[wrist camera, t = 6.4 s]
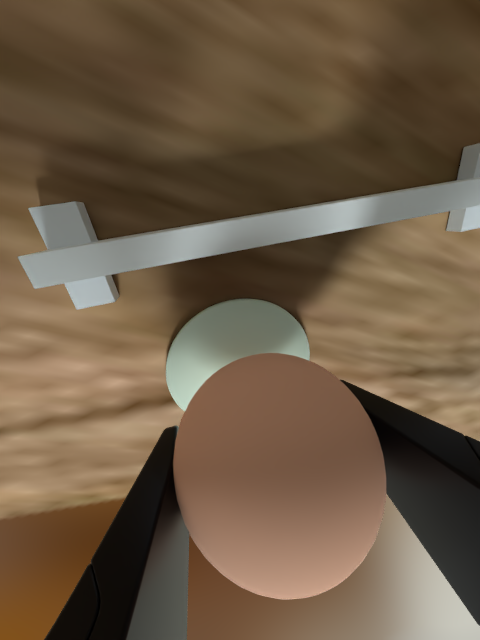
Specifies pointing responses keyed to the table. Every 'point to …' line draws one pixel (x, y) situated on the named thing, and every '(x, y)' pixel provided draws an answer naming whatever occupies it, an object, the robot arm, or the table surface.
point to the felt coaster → (229, 342)
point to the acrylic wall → (228, 233)
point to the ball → (279, 476)
